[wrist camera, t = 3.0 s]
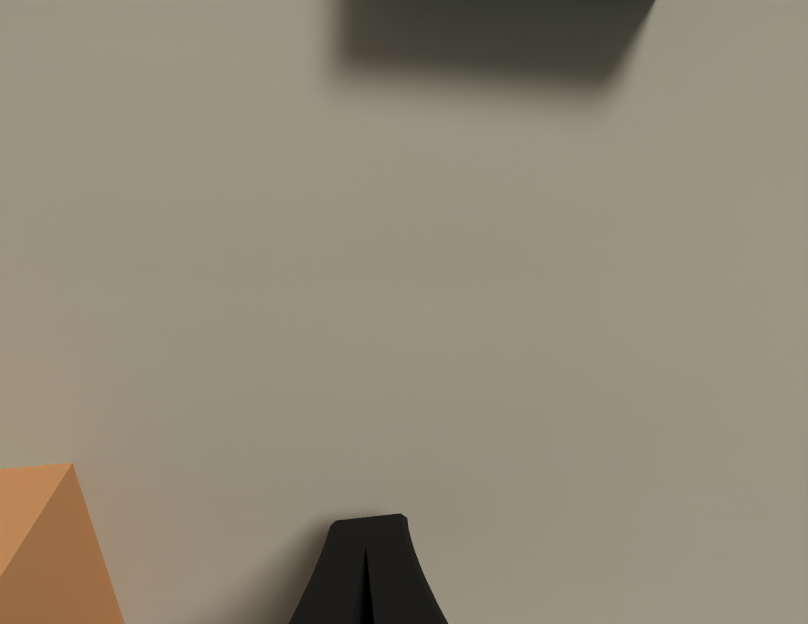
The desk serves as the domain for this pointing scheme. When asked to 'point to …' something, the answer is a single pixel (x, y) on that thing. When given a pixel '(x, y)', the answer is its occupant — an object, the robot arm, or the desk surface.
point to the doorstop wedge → (50, 551)
